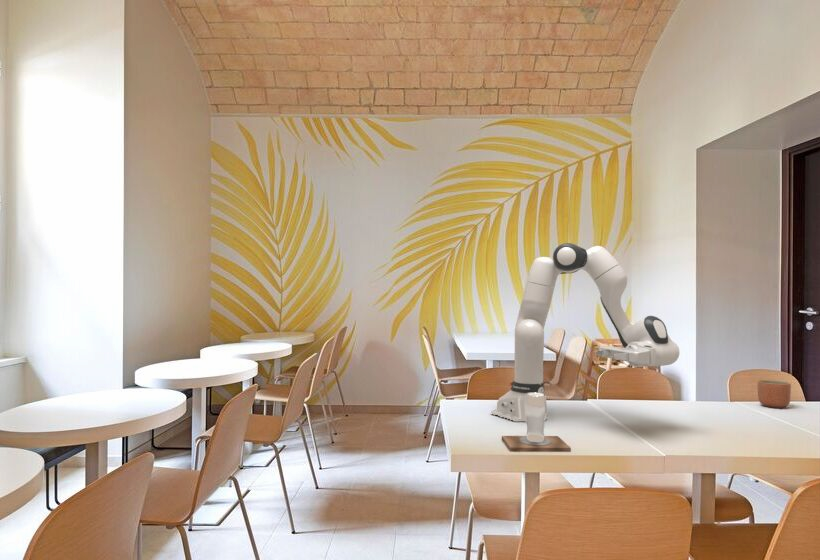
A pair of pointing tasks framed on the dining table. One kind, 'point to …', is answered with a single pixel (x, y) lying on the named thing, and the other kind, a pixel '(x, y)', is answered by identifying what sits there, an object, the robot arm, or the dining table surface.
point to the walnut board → (536, 444)
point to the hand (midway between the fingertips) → (604, 354)
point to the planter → (774, 393)
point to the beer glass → (535, 416)
